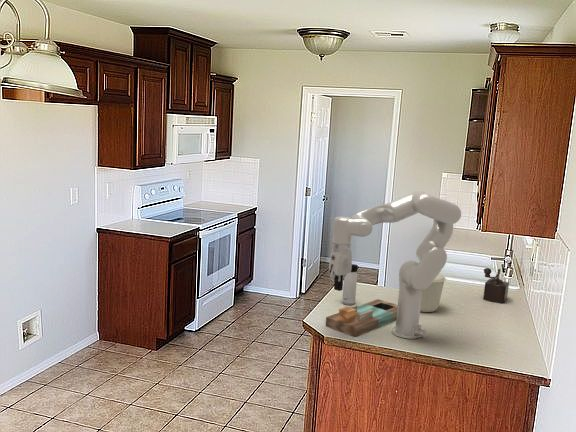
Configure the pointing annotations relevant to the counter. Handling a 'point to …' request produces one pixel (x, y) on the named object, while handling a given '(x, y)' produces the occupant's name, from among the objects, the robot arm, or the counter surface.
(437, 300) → the canister
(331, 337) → the counter surface
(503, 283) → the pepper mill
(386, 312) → the board
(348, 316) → the block
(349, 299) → the travel mug
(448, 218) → the robot arm
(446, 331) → the counter surface
